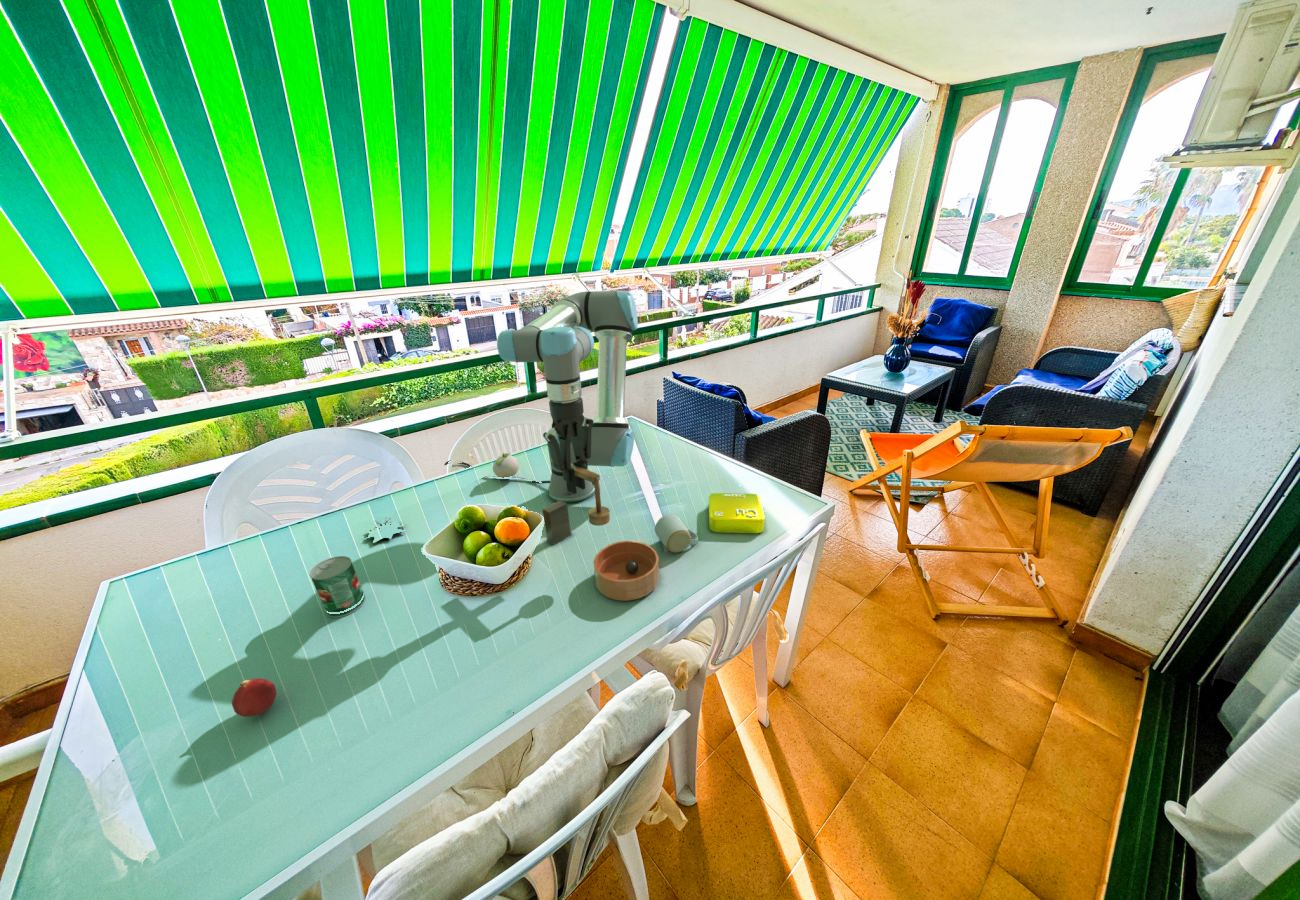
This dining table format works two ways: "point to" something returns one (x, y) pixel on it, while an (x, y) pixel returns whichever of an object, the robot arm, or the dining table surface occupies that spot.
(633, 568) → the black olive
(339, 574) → the canned tomato
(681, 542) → the ceramic mug
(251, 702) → the red plum
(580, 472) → the ladle
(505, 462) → the decorative fruit
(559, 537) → the dark upright slab
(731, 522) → the element tile
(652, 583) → the bowl
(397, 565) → the dining table surface
